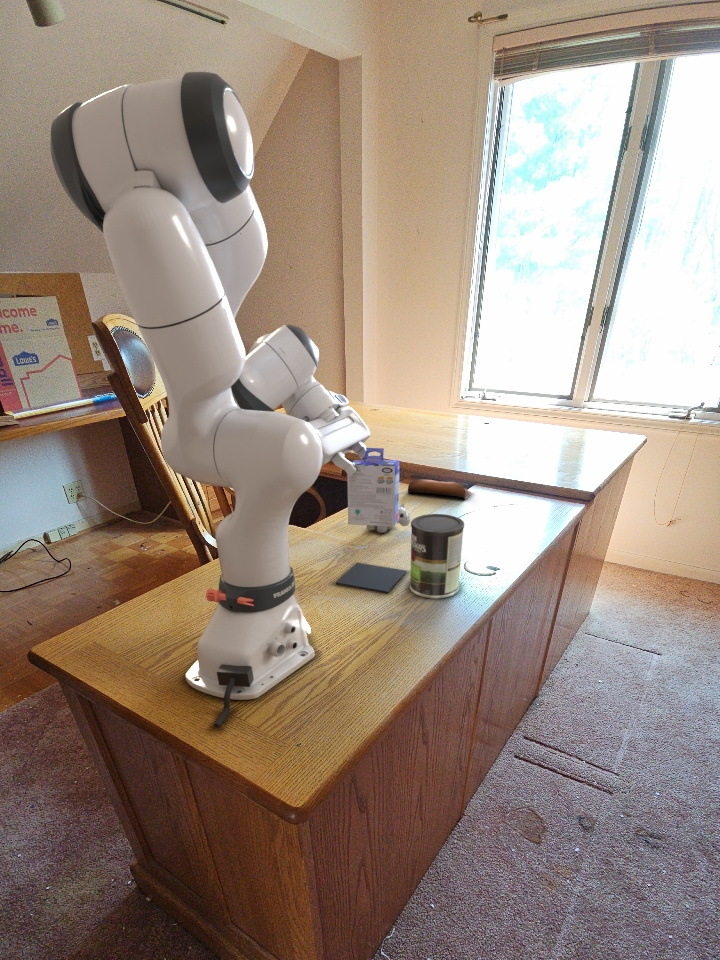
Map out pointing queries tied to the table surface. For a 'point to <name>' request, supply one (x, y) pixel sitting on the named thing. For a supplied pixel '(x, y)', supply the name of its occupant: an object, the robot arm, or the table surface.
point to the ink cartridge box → (374, 491)
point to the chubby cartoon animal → (403, 520)
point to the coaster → (371, 577)
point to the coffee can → (435, 555)
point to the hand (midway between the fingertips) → (362, 468)
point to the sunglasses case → (438, 488)
